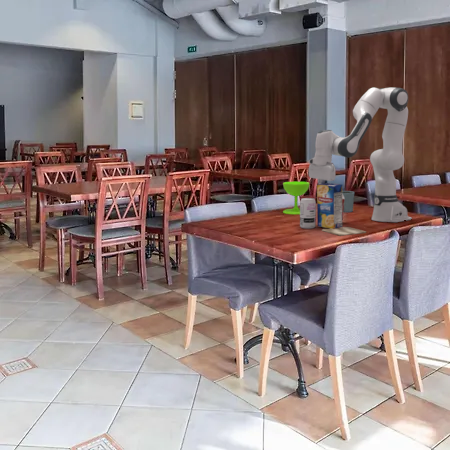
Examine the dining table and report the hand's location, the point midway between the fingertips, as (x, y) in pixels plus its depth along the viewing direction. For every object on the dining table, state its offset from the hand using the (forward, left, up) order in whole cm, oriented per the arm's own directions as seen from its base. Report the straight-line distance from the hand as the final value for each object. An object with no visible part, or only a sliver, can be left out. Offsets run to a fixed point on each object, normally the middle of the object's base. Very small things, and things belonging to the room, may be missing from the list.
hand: (320, 188), depth 296 cm
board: (-2, +18, -20) cm, 27 cm away
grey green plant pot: (-42, -35, -21) cm, 58 cm away
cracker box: (-2, +6, -20) cm, 21 cm away
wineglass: (-14, -47, -21) cm, 53 cm away
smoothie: (-14, -5, -21) cm, 25 cm away
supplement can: (+7, -1, -21) cm, 22 cm away
